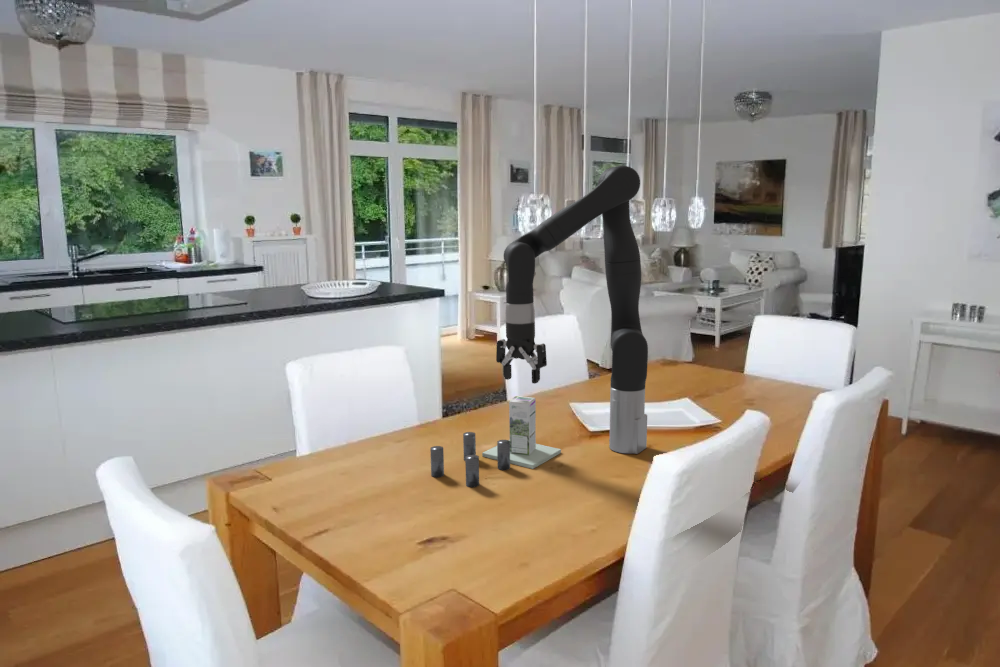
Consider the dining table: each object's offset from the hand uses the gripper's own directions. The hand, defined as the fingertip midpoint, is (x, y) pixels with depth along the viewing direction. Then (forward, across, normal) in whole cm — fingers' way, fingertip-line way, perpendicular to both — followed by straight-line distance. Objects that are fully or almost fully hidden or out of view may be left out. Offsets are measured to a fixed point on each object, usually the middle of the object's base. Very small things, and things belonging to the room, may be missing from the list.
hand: (521, 380), depth 184 cm
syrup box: (+20, 0, 0) cm, 20 cm away
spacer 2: (+20, +10, +10) cm, 25 cm away
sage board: (+20, 0, 0) cm, 20 cm away
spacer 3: (+20, -1, +24) cm, 31 cm away
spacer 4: (+20, -1, +11) cm, 23 cm away
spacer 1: (+20, +10, +24) cm, 32 cm away
